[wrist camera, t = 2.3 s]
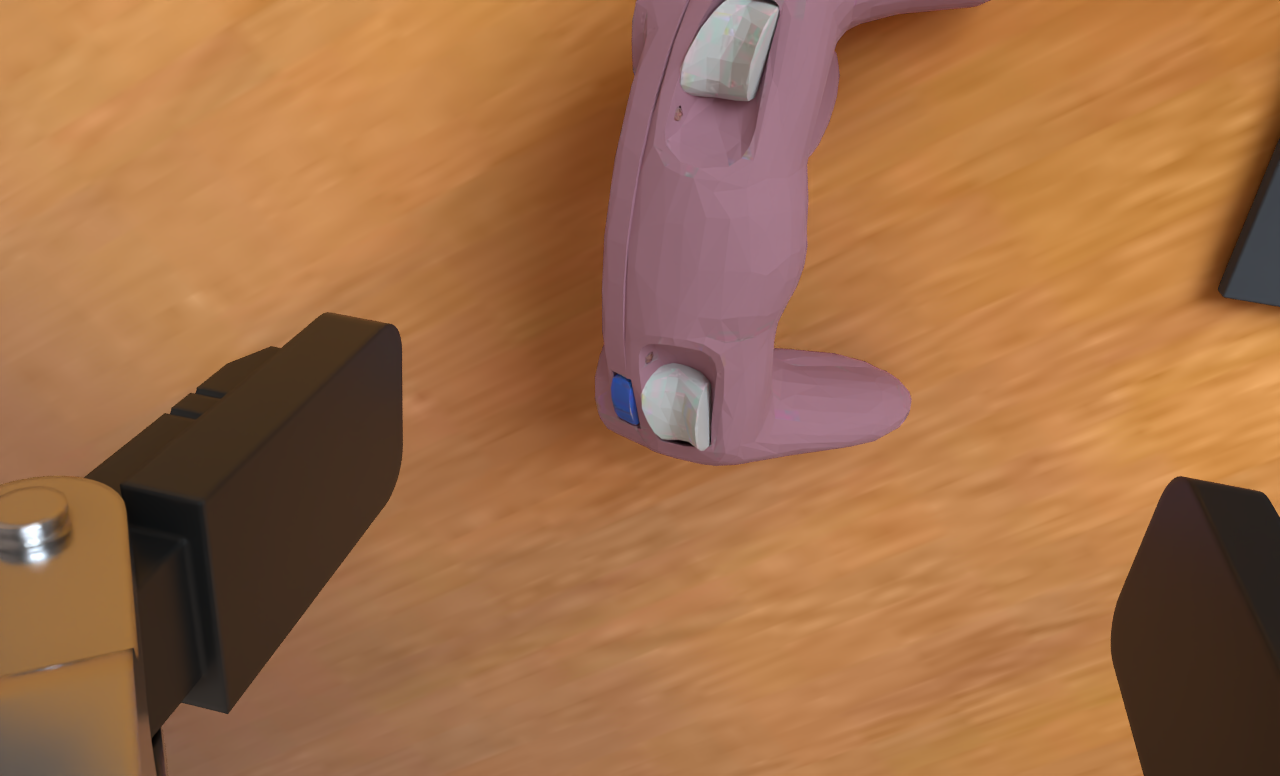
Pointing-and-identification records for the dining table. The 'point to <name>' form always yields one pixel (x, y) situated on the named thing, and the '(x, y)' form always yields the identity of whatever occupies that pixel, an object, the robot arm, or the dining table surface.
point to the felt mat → (1258, 246)
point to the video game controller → (728, 235)
